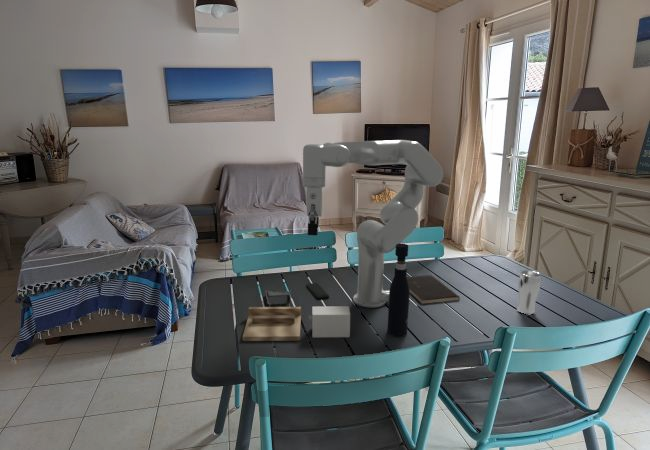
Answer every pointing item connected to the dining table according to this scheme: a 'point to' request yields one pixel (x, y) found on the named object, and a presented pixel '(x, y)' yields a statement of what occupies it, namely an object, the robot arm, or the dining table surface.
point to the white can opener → (528, 291)
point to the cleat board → (273, 324)
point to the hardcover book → (430, 289)
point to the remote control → (318, 291)
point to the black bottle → (399, 295)
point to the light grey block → (330, 321)
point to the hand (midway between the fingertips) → (313, 231)
